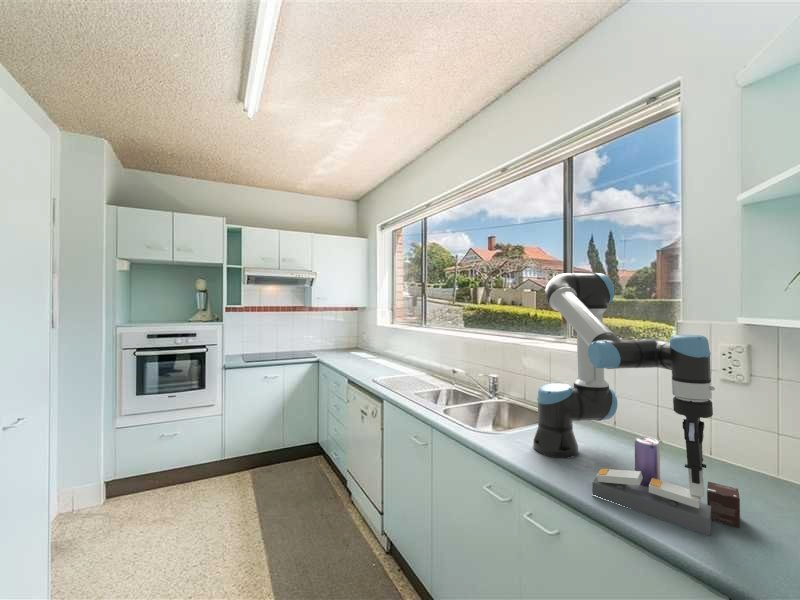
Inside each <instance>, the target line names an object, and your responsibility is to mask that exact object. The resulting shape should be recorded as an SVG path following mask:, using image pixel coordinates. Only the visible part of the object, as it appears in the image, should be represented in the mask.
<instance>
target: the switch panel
mask: <svg viewBox="0 0 800 600" xmlns="http://www.w3.org/2000/svg"><path fill="white" fill-rule="evenodd" d="M591 488H592V489H591V491H592V493H591V494H593V495H596V496H598V497H601V498H603V499H606V500H609V501H612V502H614V503H617V504H620V505H622V506H621V507H623V506H625V507H628V508H631V509H633V510H632V511H634V510H636V511H635V512H637V511H638V513H640V512H641V514H643V513H644V514H643V515H647V516H650V517H652V518H655V519H659V520H662V521H664V522H667V523H670V524H673V525H676V526H679V527H682V528H685V529H687V530H690V529H691V530H690V531H693V530H694V532H696V531H697V532H696V533H699V534H702V535H705V536H709V537H710V536H711V527H712V520H711V506H709V505H707V503H704V502H703V503H702V502H700V506H699V508H696V507H693V506H689V505H686V504H683V503H680V502H677V501H674V500H671V499H668V498H665V497H662V496H659V495H656V494H653V493H650V492H649V488H648V487H645V486H642V485H629V484H617V483H606V482H598V478H597V476H595V478H594V479H593V481H592V486H591ZM614 503H613V504H614ZM617 504H616V505H617ZM620 505H619V506H620ZM625 507H624V508H625ZM628 508H627V509H628ZM631 509H630V510H631Z"/></svg>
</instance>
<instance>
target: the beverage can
mask: <svg viewBox="0 0 800 600" xmlns="http://www.w3.org/2000/svg"><path fill="white" fill-rule="evenodd" d="M634 471H641V473H642V477H643V479H642V481H641V483H640V485H642V486H645V487H648V488H649V484H650V482H651V479H652V478H655V479H658V480H661V445H660V442H659V441H658V440H657V439H655V438H652V437H650V436H649V437H648V436H636V437H635V440H634Z"/></svg>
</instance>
